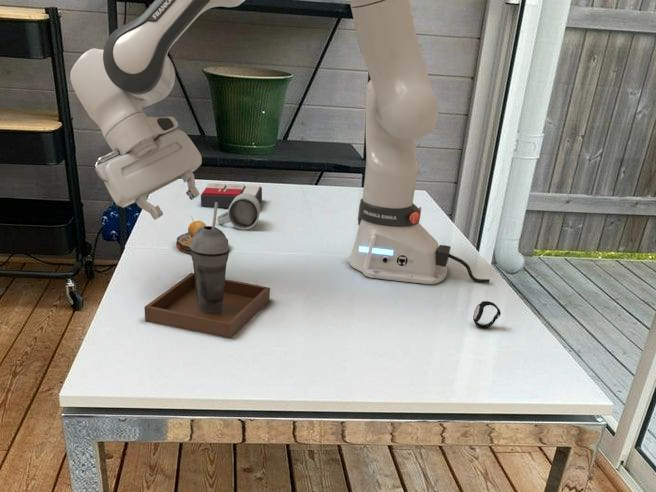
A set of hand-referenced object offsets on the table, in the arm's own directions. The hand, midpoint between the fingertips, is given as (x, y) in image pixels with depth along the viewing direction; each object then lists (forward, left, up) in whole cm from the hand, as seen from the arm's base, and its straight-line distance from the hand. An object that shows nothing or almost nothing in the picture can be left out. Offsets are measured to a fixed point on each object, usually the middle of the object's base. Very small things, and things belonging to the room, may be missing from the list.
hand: (177, 207), depth 146 cm
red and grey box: (+14, -62, -16) cm, 66 cm away
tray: (-10, +8, -16) cm, 21 cm away
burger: (+6, -25, -16) cm, 30 cm away
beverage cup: (-10, +8, -16) cm, 20 cm away
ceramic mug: (+5, -45, -16) cm, 48 cm away
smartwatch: (-61, -9, -16) cm, 63 cm away
